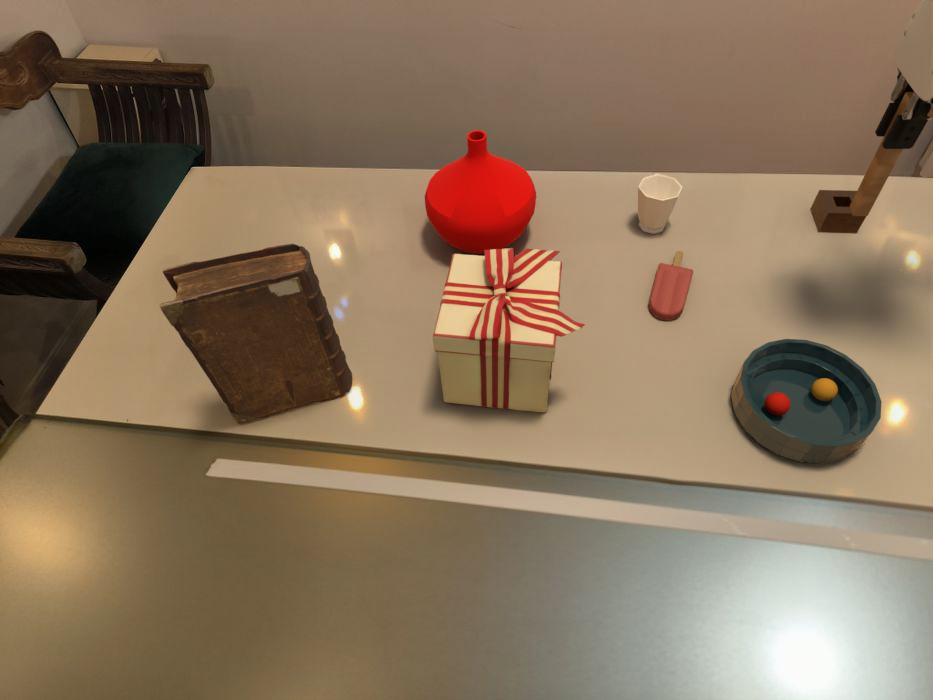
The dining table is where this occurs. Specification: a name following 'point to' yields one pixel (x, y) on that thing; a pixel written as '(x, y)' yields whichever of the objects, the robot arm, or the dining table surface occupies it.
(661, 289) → the popsicle
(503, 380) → the gift box
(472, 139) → the vase
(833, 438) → the bowl
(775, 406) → the red ball
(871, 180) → the stick
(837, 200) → the holder
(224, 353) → the book
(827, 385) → the ochre ball
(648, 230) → the cup
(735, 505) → the dining table surface
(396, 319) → the dining table surface
